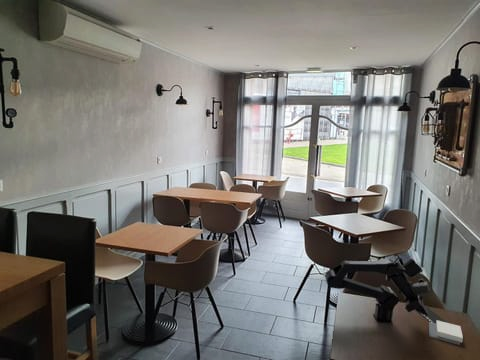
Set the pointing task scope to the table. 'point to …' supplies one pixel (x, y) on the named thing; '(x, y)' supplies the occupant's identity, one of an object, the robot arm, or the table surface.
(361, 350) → the table surface
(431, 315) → the smartphone
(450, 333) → the tile
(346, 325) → the table surface
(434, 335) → the mat
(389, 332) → the table surface
